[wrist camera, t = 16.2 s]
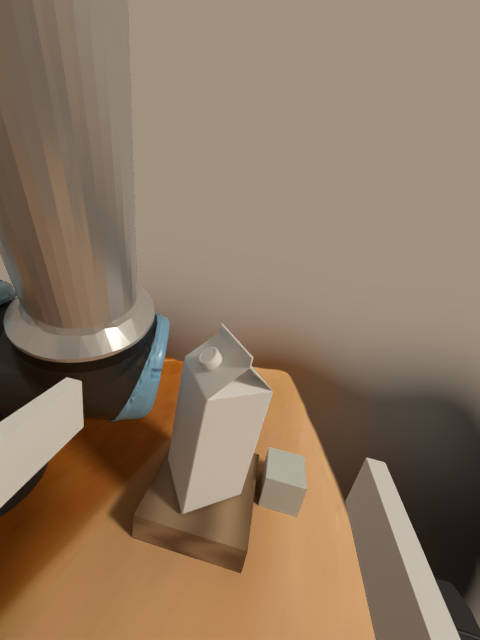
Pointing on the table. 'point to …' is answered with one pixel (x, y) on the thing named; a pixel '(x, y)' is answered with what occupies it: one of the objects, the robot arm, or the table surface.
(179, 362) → the table surface
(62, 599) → the table surface
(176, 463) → the milk carton
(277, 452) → the grey cube
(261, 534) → the table surface
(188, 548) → the walnut block
